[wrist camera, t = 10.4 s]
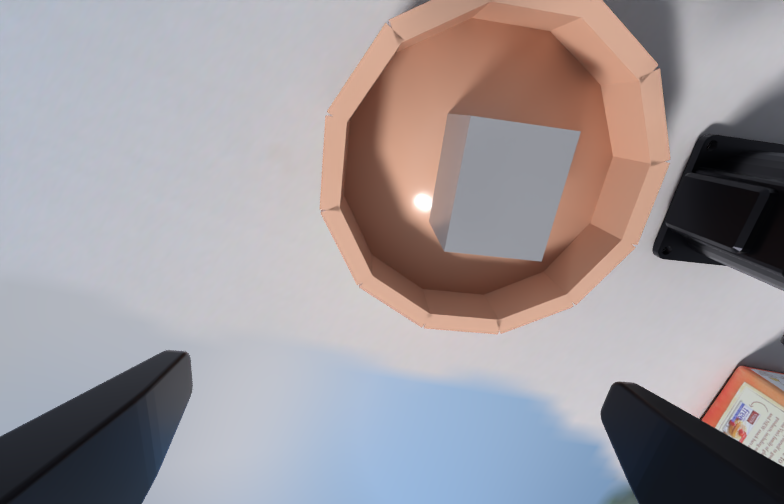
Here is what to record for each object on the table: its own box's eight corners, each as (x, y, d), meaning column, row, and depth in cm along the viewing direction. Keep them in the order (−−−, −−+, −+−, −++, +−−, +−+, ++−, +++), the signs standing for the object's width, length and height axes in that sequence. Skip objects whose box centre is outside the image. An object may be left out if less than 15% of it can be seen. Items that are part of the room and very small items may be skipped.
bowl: (656, 34, 16) (727, 16, 13) (563, 306, 21) (598, 342, 18) (343, -21, 15) (336, -57, 12) (321, 284, 20) (312, 319, 17)
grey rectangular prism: (533, 125, 17) (581, 131, 13) (506, 230, 18) (541, 261, 15) (447, 113, 16) (470, 115, 12) (428, 221, 18) (444, 251, 14)
